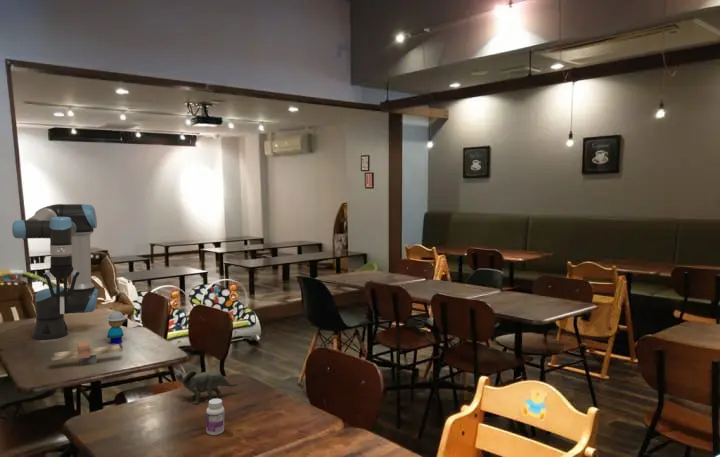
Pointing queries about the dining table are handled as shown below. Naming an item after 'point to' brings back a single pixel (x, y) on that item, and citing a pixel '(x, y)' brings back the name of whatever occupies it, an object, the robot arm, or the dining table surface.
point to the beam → (93, 354)
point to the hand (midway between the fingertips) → (62, 313)
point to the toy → (116, 326)
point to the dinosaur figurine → (202, 383)
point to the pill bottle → (215, 417)
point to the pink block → (84, 349)
